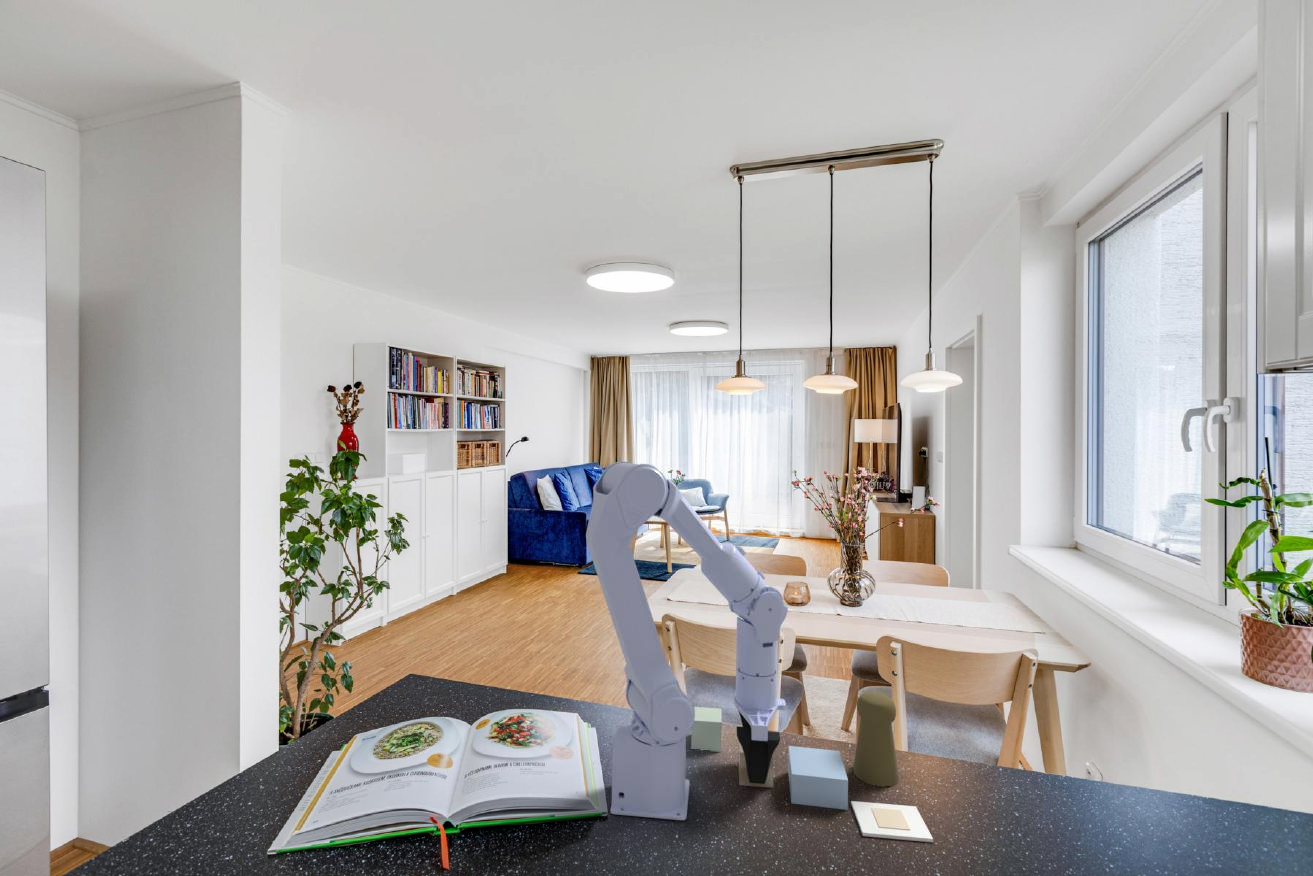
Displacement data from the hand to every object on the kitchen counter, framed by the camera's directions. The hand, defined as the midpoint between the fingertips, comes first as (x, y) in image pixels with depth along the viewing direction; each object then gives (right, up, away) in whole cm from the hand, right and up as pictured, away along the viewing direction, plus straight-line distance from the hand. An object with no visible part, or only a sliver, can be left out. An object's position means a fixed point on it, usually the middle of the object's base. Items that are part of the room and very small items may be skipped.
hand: (755, 766), depth 79 cm
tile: (+15, -2, -9) cm, 18 cm away
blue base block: (+8, -2, -3) cm, 8 cm away
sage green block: (-6, -2, +9) cm, 11 cm away
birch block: (0, -2, 0) cm, 2 cm away
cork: (+17, -2, +1) cm, 17 cm away
